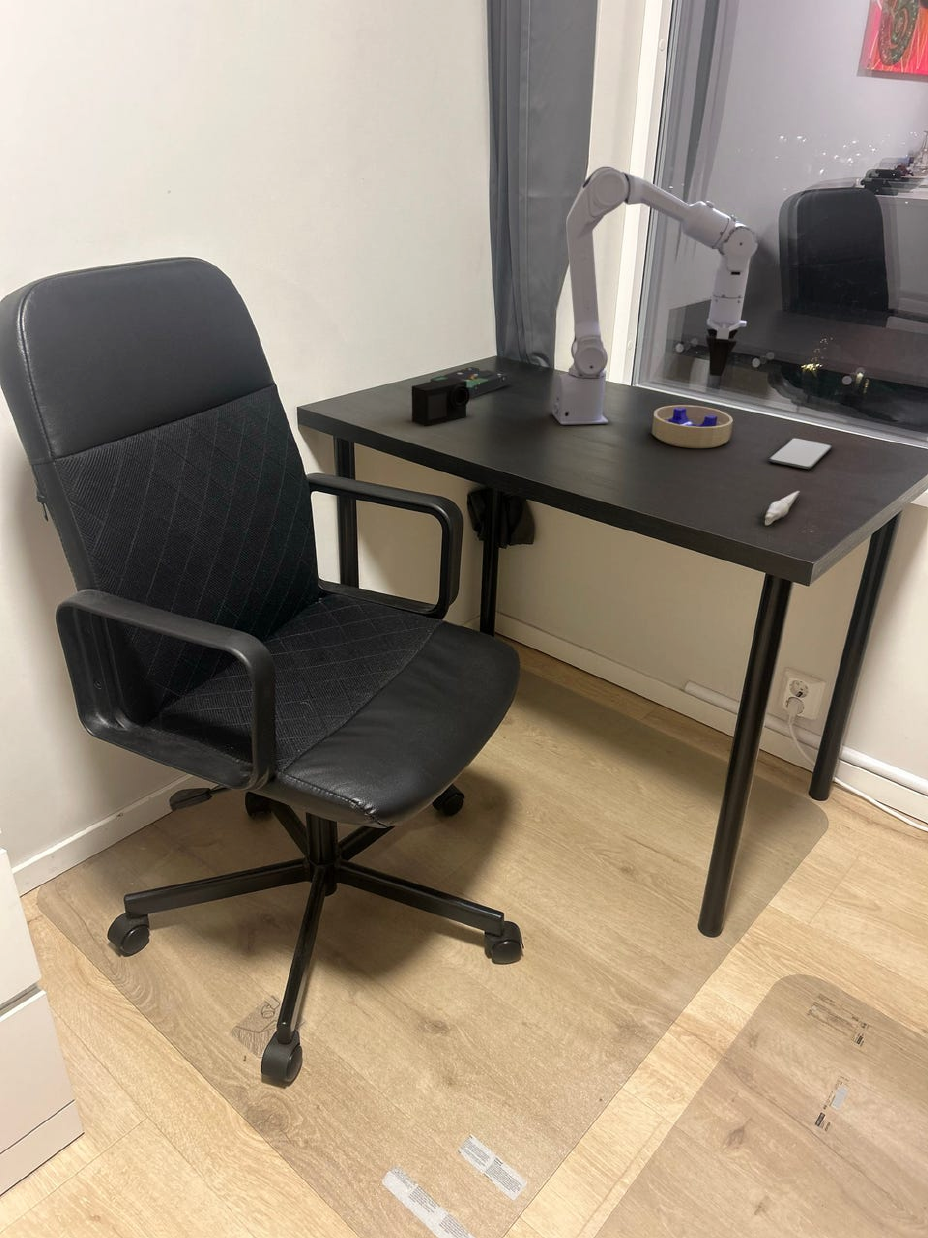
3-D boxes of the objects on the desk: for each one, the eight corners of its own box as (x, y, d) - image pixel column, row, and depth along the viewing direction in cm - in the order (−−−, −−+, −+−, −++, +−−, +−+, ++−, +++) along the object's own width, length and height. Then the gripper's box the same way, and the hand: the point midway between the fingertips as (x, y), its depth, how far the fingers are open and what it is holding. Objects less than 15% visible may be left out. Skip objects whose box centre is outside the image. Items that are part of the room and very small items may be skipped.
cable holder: (666, 431, 165) (669, 410, 163) (676, 427, 167) (679, 406, 165) (705, 441, 160) (708, 419, 158) (714, 436, 163) (717, 415, 161)
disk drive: (469, 378, 199) (429, 391, 188) (470, 366, 197) (429, 378, 187) (507, 386, 194) (468, 399, 183) (508, 373, 192) (469, 386, 182)
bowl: (666, 450, 157) (669, 428, 155) (641, 426, 169) (643, 406, 167) (741, 448, 159) (745, 426, 157) (711, 424, 171) (714, 404, 169)
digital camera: (429, 428, 166) (429, 391, 163) (411, 421, 170) (411, 385, 166) (470, 418, 172) (471, 382, 169) (452, 411, 176) (452, 376, 172)
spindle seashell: (774, 528, 127) (776, 516, 126) (756, 524, 129) (758, 512, 128) (806, 498, 138) (809, 487, 137) (789, 494, 139) (792, 483, 138)
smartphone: (832, 444, 159) (809, 467, 149) (831, 447, 160) (808, 470, 149) (793, 437, 163) (768, 458, 152) (793, 440, 163) (768, 461, 152)
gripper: (751, 303, 153) (738, 381, 160) (750, 290, 166) (737, 363, 172) (710, 300, 155) (698, 378, 162) (711, 288, 167) (700, 360, 174)
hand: (716, 370), depth 167 cm, fingers open, 7 cm apart
